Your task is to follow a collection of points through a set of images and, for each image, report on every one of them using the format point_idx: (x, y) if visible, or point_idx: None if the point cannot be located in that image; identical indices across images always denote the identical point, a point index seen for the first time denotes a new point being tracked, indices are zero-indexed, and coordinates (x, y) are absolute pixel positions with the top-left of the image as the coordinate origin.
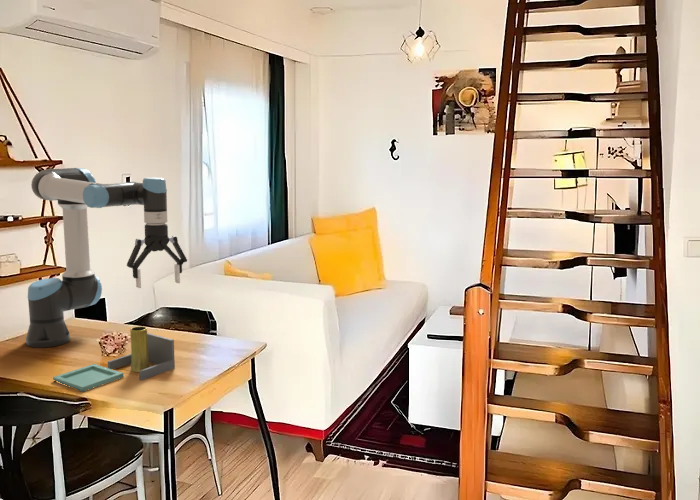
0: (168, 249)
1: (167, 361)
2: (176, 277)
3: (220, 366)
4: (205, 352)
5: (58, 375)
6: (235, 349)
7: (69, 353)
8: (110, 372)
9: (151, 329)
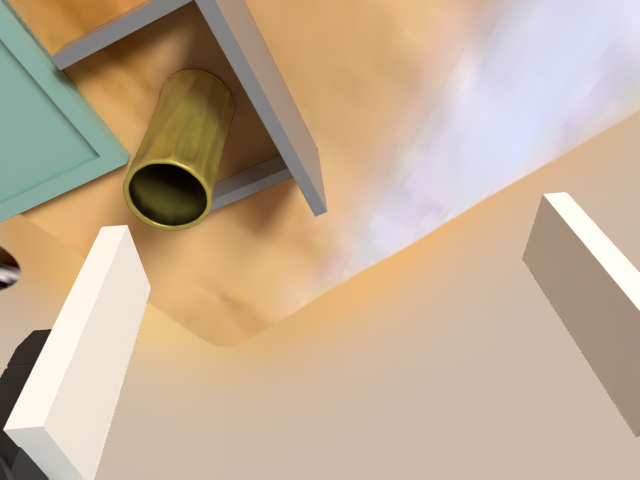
0: None
1: (290, 172)
2: (558, 271)
3: (451, 199)
4: (501, 27)
5: None
6: (616, 55)
7: None
8: (76, 125)
9: None
